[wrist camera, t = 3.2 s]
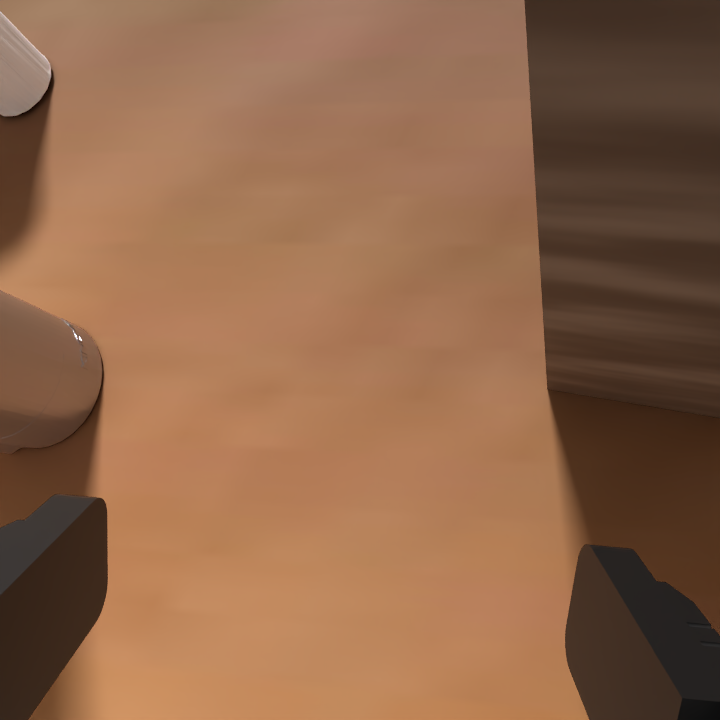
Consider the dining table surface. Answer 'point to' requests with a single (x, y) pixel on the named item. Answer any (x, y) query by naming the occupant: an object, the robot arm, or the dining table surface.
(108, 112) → the dining table surface
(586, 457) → the dining table surface
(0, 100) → the cup
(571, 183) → the walnut pillar
